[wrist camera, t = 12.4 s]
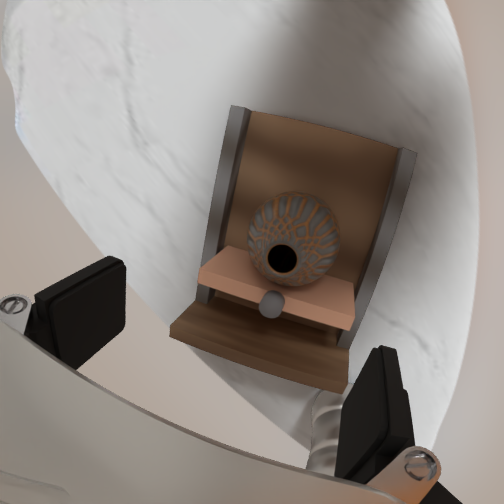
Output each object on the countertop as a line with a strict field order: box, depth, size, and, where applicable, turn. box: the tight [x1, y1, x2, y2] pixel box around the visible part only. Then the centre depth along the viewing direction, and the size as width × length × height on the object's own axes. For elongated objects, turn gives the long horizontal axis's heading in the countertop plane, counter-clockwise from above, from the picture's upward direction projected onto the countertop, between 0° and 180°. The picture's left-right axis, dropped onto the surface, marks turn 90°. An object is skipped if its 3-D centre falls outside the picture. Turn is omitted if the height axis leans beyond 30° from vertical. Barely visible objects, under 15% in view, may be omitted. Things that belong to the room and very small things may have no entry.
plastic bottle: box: [306, 383, 353, 476], centre depth 22 cm, size 6×7×20 cm
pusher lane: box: [169, 105, 417, 395], centre depth 24 cm, size 19×15×8 cm
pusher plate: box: [197, 245, 355, 331], centre depth 25 cm, size 2×12×8 cm, turn 78°
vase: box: [247, 191, 340, 286], centre depth 23 cm, size 7×7×9 cm
